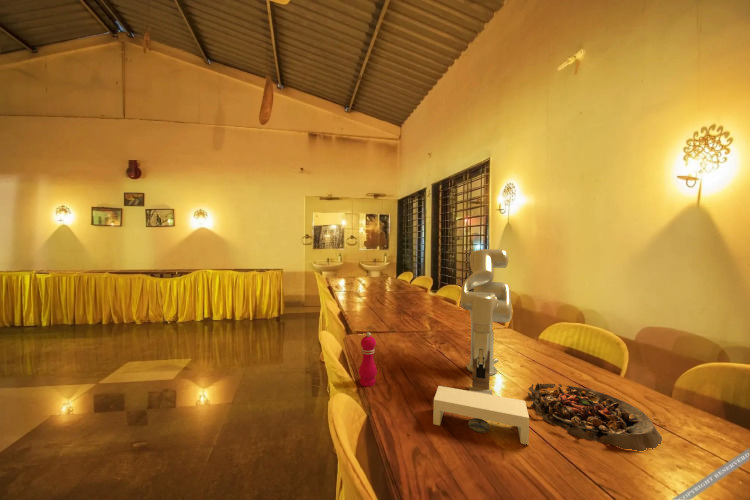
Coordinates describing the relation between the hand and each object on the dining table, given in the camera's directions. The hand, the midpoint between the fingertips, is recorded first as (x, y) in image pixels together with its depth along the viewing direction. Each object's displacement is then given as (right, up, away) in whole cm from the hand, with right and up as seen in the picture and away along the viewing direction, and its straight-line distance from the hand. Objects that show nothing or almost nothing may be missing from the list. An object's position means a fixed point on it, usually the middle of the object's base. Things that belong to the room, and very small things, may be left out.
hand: (480, 375), depth 115 cm
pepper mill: (-43, -5, +4) cm, 44 cm away
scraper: (-3, -5, -8) cm, 10 cm away
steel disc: (-9, -6, -24) cm, 26 cm away
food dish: (+28, -7, -17) cm, 34 cm away
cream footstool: (-9, -5, -23) cm, 25 cm away
